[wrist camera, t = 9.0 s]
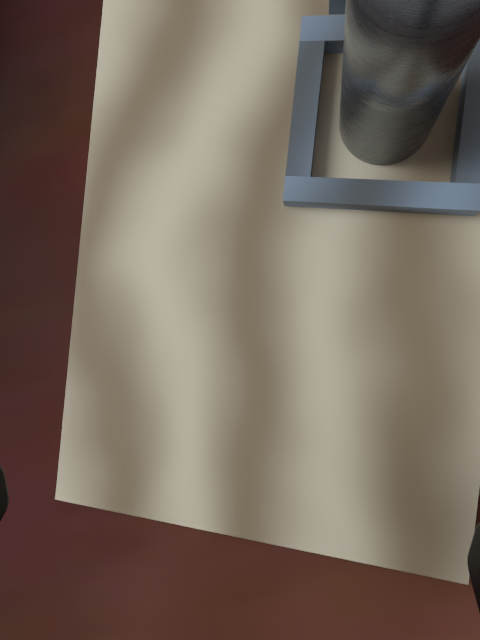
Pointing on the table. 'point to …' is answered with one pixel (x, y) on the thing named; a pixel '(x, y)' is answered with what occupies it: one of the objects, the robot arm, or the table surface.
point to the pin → (401, 71)
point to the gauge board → (273, 295)
